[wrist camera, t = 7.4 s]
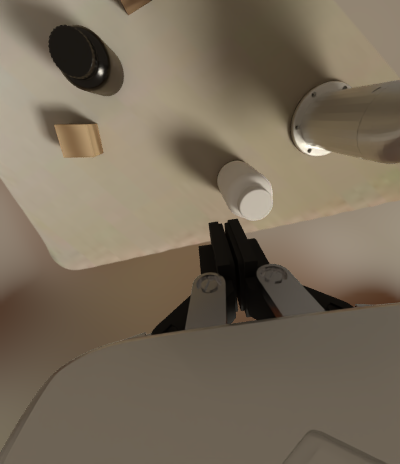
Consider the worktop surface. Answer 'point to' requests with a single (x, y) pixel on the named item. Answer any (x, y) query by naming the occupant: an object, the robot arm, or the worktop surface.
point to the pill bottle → (245, 190)
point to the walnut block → (133, 5)
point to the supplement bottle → (86, 60)
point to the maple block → (79, 140)
